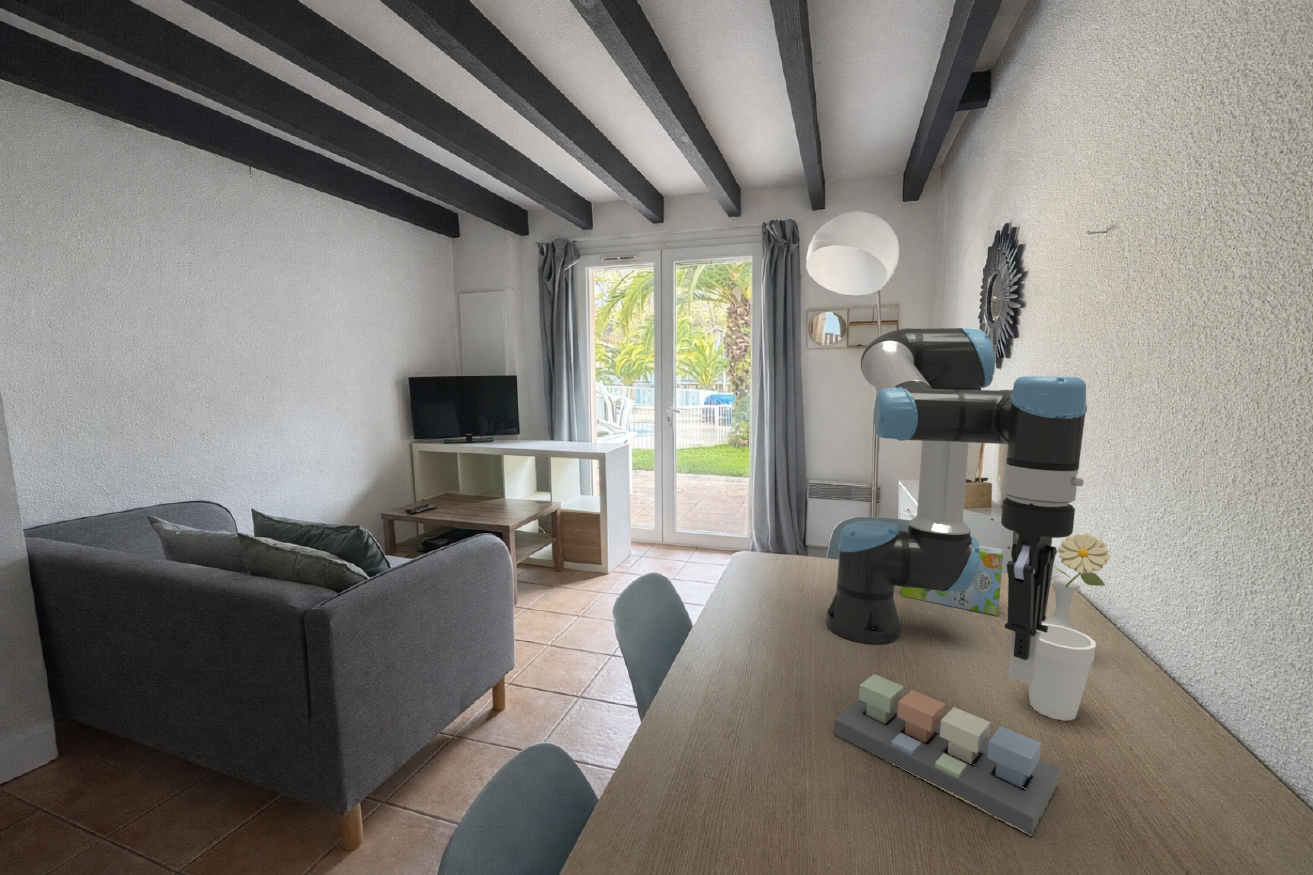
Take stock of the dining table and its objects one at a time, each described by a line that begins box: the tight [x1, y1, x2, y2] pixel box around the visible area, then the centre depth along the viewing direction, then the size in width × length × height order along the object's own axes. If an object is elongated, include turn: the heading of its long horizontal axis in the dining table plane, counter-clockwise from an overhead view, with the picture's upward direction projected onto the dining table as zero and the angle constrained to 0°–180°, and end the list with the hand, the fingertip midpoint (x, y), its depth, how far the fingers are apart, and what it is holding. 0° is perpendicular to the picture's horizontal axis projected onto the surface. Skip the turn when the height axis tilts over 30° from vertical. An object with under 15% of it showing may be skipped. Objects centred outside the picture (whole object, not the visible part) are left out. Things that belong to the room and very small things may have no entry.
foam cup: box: [1028, 623, 1097, 720], centre depth 94 cm, size 10×9×13 cm
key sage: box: [858, 673, 905, 725], centre depth 88 cm, size 5×5×5 cm
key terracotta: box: [897, 689, 946, 744], centre depth 83 cm, size 5×5×5 cm
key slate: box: [987, 725, 1042, 789], centre depth 75 cm, size 5×5×5 cm
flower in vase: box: [1042, 533, 1111, 633], centre depth 114 cm, size 13×11×25 cm
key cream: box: [940, 706, 991, 765], centre depth 79 cm, size 5×5×5 cm
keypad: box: [833, 699, 1061, 836], centre depth 82 cm, size 26×13×3 cm, turn 43°
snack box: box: [900, 545, 1004, 617], centre depth 138 cm, size 21×6×15 cm, turn 58°
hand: (1021, 678), depth 73 cm, fingers closed
